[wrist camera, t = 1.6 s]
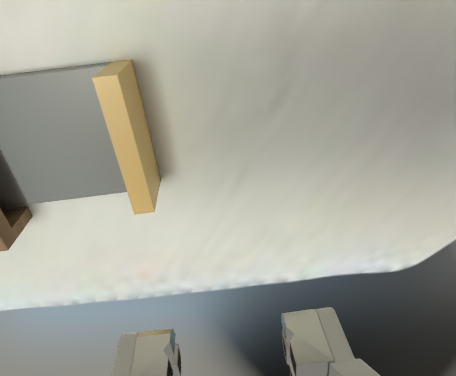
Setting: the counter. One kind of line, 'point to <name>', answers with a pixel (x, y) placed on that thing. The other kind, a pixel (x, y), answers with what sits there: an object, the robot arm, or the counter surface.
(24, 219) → the overhang shelf
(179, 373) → the robot arm
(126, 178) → the grey board with lip
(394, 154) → the counter surface
